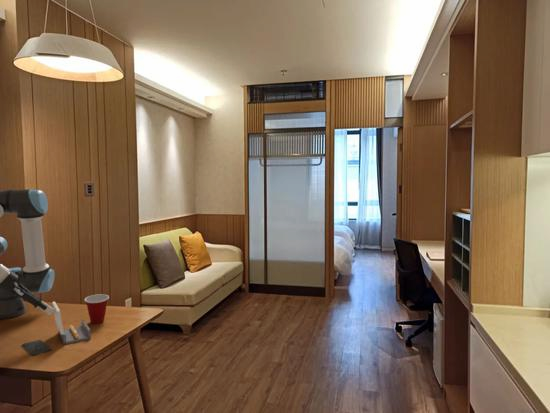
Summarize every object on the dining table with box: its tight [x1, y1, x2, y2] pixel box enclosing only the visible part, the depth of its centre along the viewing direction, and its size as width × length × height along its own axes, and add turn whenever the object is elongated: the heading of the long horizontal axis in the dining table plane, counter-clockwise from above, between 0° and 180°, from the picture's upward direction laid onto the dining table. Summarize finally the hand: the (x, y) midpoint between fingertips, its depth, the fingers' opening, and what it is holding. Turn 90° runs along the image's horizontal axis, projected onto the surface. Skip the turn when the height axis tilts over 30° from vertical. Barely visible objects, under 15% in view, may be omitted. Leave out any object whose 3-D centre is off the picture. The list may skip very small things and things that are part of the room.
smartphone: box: [21, 339, 53, 357], centre depth 151 cm, size 7×1×15 cm
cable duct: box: [58, 319, 92, 345], centre depth 163 cm, size 16×10×4 cm, turn 37°
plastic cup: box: [84, 293, 110, 325], centre depth 180 cm, size 11×11×12 cm
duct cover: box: [52, 301, 64, 335], centre depth 159 cm, size 16×10×1 cm
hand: (52, 312), depth 157 cm, fingers closed
